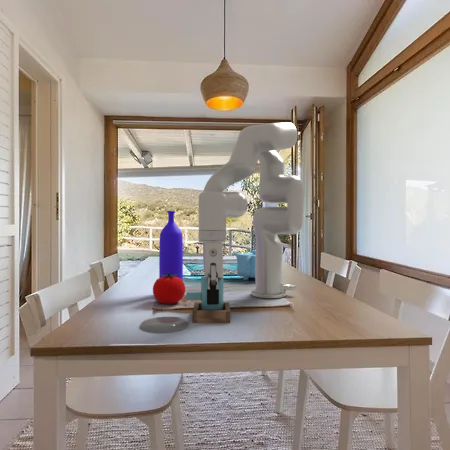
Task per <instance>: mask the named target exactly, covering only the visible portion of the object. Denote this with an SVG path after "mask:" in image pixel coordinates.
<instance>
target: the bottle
mask: <svg viewBox="0 0 450 450" xmlns="http://www.w3.org/2000/svg"><path fill="white" fill-rule="evenodd" d="M166 213H167V214H168V217H167V219H168V221H167V223H166V224H165V225H164V227H163V228H162V229H161V231H160V233H159V247H158V248H159V252H158V253H159V254H158V256H159V257H158V259H159V263H158V266H159V268H158V269H159V271H158V272H159V273H158V274H159V278H160V277H163V276H162V275H166V276H167V274H168V273H171V275H175V276H176V277H179V278H181V279H182V281H183V280H184V276H183V275H184V273H183V272H184V271H183V270H184V267H183V266H184V263H183V262H184V258H183V257H184V254H183V253H184V249H183V248H184V247H183V232H182V231H181V229H180V228H179V226H178V225H177V224H176V222H175V213H176V211H175V210H167V211H166ZM160 274H161V275H160ZM176 274H178V275H176ZM159 278H158V279H159ZM183 282H184V281H183Z"/></svg>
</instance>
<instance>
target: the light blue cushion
mask: <svg viewBox="0 0 450 450" xmlns="http://www.w3.org/2000/svg"><path fill="white" fill-rule="evenodd" d="M232 253H233V254H234V255H235V257H236V262H237V275H236V276H237V277H243V278H242V281H248V280H249V277H250V279H255V278H256V249H253V250H252V251H251V252H246V253H238V252H235V251H232Z"/></svg>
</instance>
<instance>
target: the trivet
mask: <svg viewBox="0 0 450 450" xmlns="http://www.w3.org/2000/svg"><path fill="white" fill-rule="evenodd" d="M187 327H189V321H188V320H187V319H185V318H183V317H178V316H159V317H158V316H157V317H156V316H155V317H153V318H148V319H144V320H143V321H142V322H141V323H140V329H141V330H143V331H145V332H148V333H153V334H154V333H155V334H168V333H176V332H180V331H183V330H185V329H186V328H187Z"/></svg>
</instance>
